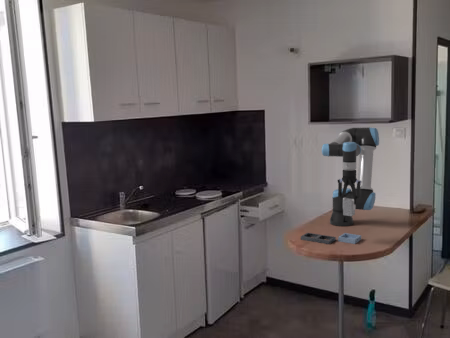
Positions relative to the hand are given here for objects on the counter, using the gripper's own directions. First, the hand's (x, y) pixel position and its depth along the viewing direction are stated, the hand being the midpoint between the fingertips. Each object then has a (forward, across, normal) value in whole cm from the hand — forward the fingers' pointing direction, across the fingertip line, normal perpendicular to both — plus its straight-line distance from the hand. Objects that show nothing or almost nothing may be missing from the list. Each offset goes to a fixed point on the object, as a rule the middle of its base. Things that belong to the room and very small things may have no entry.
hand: (349, 209), depth 261 cm
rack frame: (+19, -15, -8) cm, 26 cm away
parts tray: (+19, 0, 0) cm, 19 cm away
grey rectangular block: (+3, 0, 0) cm, 3 cm away
